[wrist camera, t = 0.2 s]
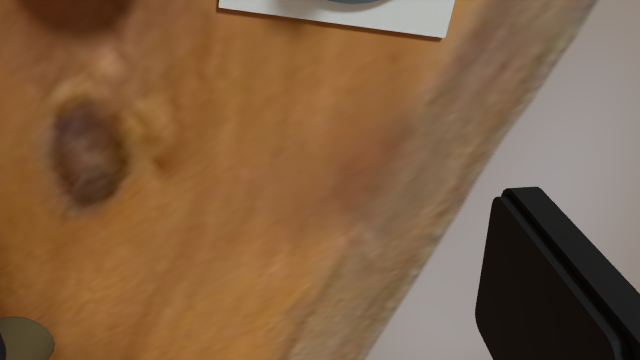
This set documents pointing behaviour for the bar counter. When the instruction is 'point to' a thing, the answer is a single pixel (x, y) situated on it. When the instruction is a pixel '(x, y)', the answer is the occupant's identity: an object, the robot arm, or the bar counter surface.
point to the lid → (353, 1)
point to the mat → (360, 13)
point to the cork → (25, 339)
